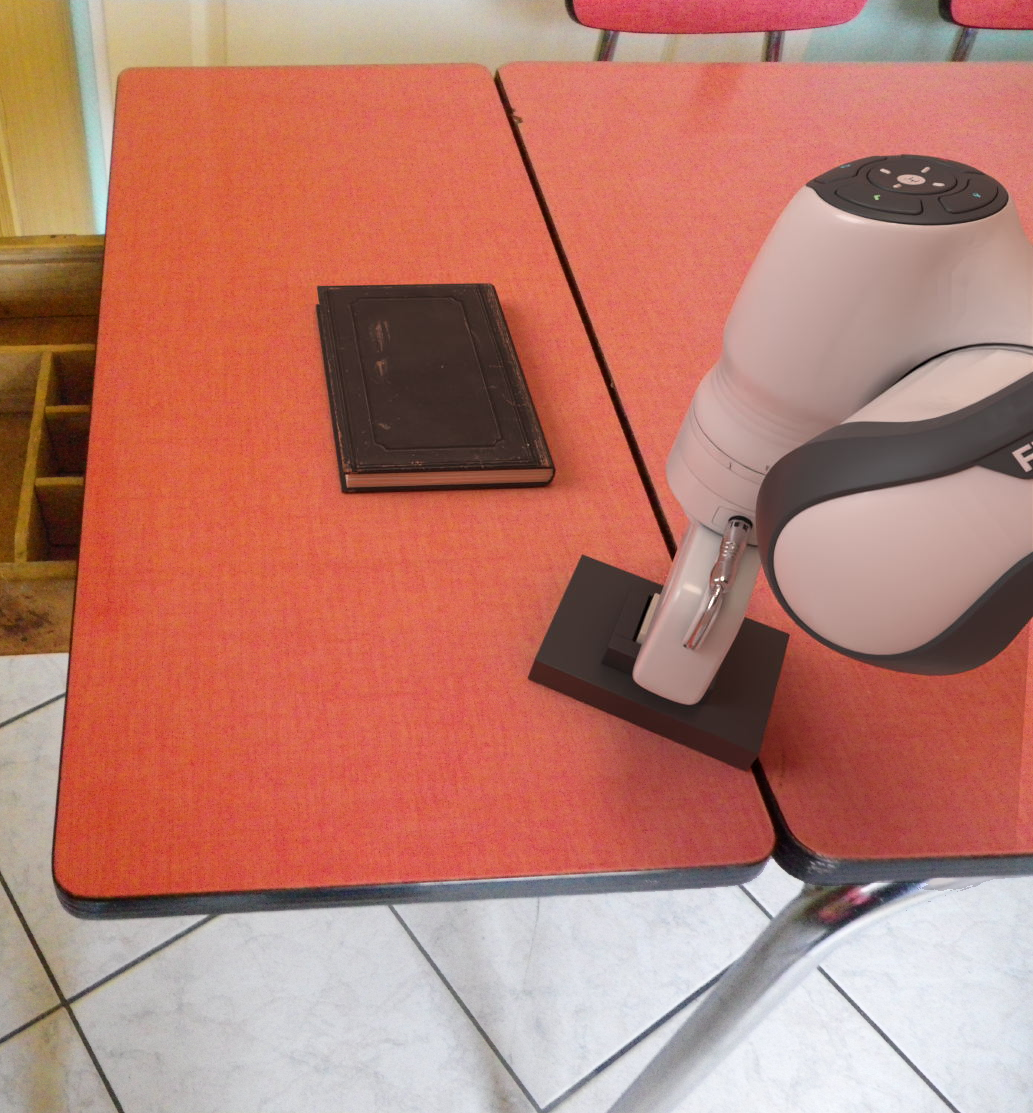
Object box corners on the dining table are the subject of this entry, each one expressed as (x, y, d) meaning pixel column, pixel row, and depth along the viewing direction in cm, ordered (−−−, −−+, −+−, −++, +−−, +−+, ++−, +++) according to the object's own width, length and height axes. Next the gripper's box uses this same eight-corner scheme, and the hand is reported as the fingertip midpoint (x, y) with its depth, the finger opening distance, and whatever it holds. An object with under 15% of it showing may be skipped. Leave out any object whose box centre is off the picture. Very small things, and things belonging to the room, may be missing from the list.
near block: (777, 653, 68) (801, 617, 65) (746, 772, 62) (771, 738, 59) (574, 574, 72) (588, 536, 69) (527, 678, 66) (540, 642, 63)
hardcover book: (341, 493, 76) (344, 471, 74) (315, 307, 91) (317, 285, 89) (551, 487, 77) (558, 465, 75) (492, 304, 92) (496, 282, 90)
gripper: (786, 629, 46) (686, 777, 56) (853, 373, 58) (760, 535, 68) (648, 576, 48) (576, 729, 58) (740, 338, 59) (667, 501, 70)
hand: (676, 622), depth 63 cm, fingers closed, pressing on near key
